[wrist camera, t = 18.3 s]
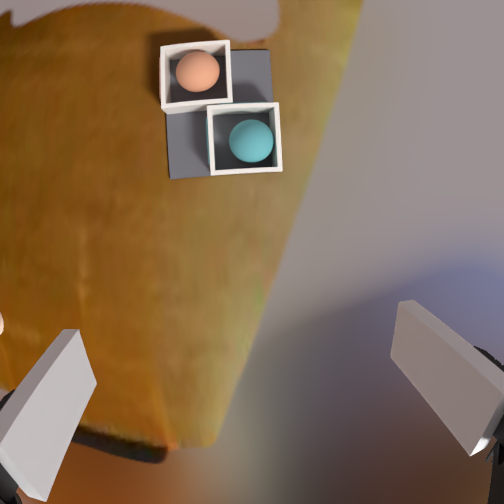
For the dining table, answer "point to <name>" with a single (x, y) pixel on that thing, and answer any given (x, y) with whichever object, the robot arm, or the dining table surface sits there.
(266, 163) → the mat
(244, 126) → the ball teal
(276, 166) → the white square bin
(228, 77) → the white square box
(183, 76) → the ball terracotta
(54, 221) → the dining table surface
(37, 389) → the robot arm
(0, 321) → the water bottle
